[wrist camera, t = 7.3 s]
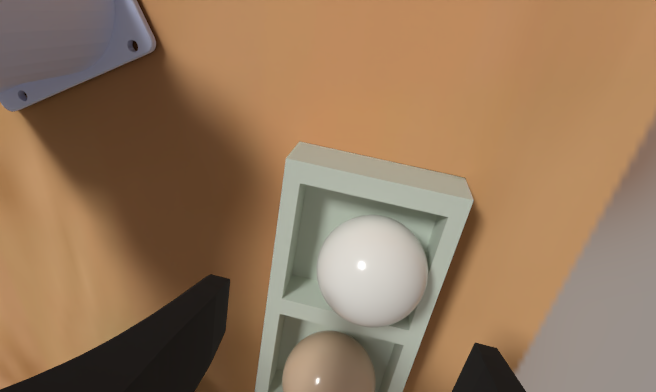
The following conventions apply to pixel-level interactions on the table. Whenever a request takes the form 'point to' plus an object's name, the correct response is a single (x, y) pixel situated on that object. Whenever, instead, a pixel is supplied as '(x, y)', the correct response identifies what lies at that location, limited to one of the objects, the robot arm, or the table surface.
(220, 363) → the table surface
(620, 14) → the table surface
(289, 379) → the brown egg
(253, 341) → the table surface
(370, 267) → the white egg
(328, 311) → the carton
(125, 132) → the table surface
